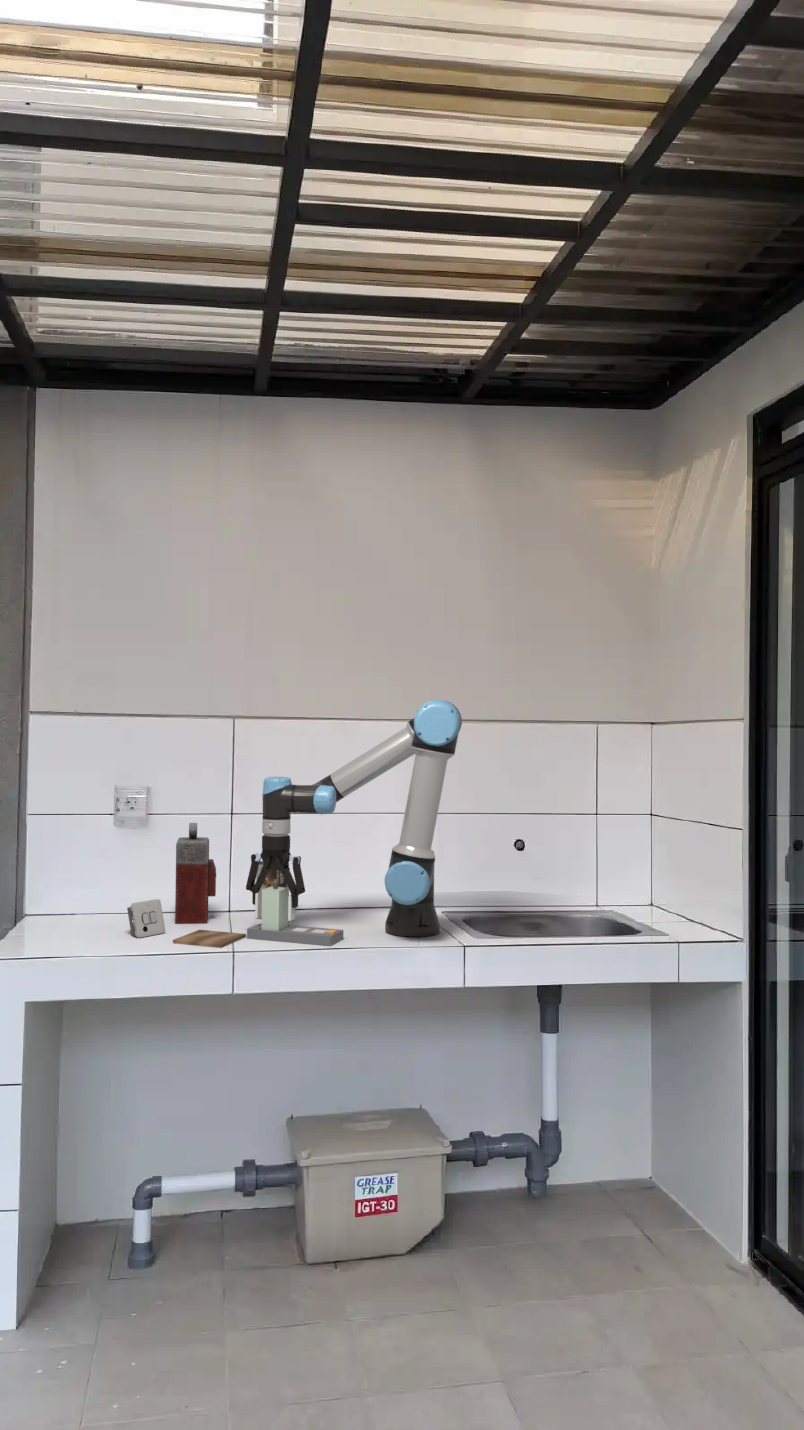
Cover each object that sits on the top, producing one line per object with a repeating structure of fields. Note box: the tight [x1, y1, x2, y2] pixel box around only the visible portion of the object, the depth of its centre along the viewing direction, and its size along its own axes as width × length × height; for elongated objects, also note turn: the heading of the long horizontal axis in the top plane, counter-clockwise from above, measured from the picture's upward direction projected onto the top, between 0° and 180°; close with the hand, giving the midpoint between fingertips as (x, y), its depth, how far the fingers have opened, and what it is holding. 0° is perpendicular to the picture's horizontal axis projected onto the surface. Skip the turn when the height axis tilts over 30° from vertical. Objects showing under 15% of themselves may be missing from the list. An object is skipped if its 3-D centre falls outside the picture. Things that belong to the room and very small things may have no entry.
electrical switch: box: [126, 898, 166, 939], centre depth 293 cm, size 9×5×9 cm, turn 141°
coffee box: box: [255, 860, 290, 920], centre depth 319 cm, size 9×6×16 cm
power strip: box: [246, 922, 344, 947], centre depth 291 cm, size 24×9×3 cm, turn 71°
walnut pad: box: [172, 929, 247, 949], centre depth 288 cm, size 14×14×1 cm
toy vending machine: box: [174, 822, 217, 925], centre depth 312 cm, size 9×11×28 cm
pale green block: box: [260, 879, 290, 931], centre depth 293 cm, size 5×6×15 cm
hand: (274, 918), depth 293 cm, fingers open, 9 cm apart
